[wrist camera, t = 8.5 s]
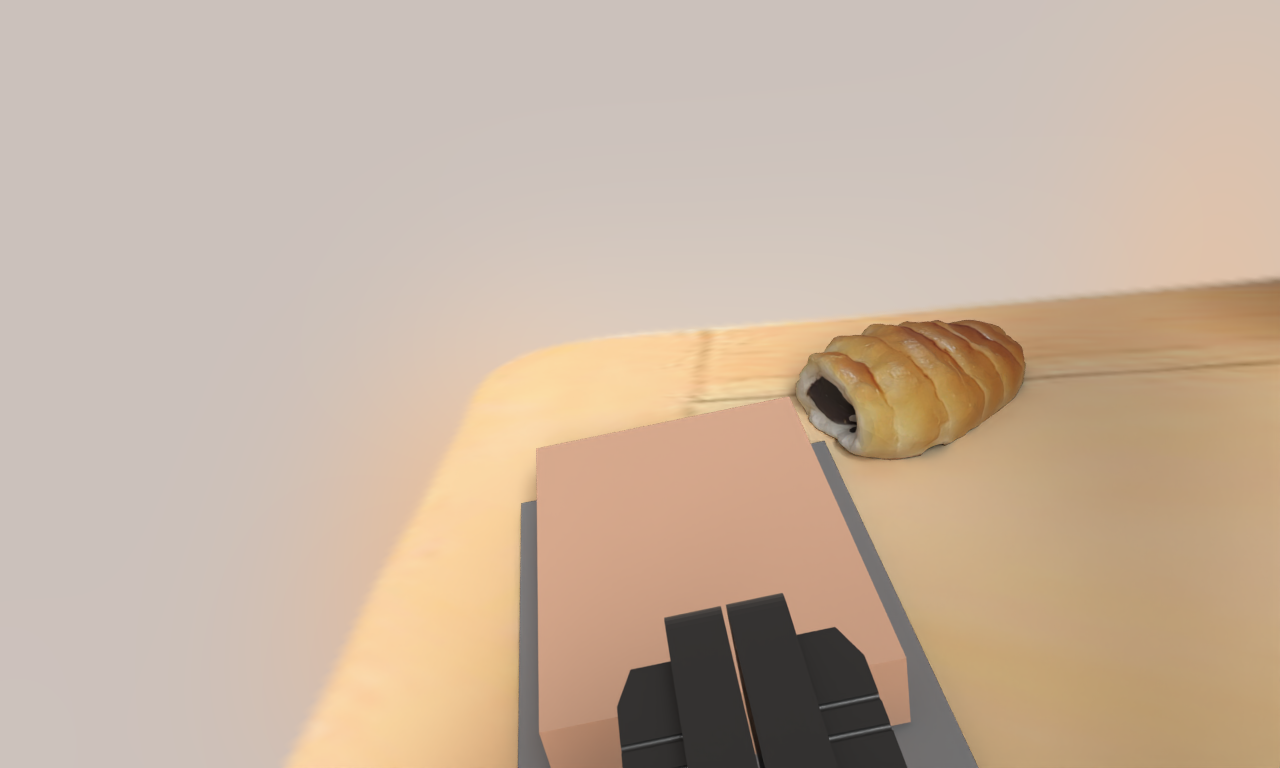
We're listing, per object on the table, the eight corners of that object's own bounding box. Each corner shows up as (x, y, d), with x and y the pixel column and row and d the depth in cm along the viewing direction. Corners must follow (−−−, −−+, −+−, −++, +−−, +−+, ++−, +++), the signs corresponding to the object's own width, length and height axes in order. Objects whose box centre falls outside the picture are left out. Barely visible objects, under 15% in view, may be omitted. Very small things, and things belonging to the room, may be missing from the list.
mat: (825, 449, 41) (824, 440, 41) (1082, 1000, 22) (1083, 990, 22) (523, 511, 41) (521, 503, 41) (517, 1114, 22) (513, 1105, 22)
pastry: (959, 341, 47) (958, 266, 45) (1068, 402, 41) (1072, 320, 39) (785, 413, 44) (775, 337, 42) (877, 488, 39) (871, 405, 37)
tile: (911, 727, 28) (796, 453, 40) (906, 657, 27) (789, 396, 39) (561, 798, 28) (551, 503, 40) (538, 732, 27) (536, 448, 39)
